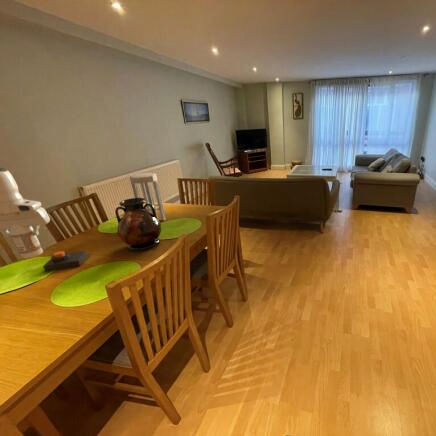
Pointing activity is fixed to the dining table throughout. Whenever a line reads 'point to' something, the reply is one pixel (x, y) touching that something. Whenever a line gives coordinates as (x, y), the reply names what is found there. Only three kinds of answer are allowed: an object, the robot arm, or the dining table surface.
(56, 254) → the button
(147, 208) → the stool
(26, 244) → the bath foam
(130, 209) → the amphora vase
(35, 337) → the dining table surface
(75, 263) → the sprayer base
